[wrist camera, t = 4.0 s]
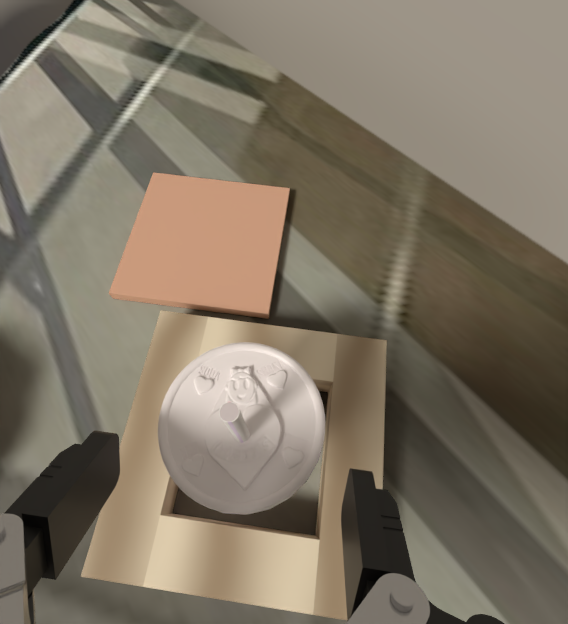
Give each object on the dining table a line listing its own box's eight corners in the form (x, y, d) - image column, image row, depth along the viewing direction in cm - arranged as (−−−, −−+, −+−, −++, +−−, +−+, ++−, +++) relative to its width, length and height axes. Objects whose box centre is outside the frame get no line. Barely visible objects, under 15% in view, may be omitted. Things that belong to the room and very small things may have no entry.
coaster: (289, 195, 32) (289, 188, 31) (268, 318, 27) (268, 313, 26) (156, 179, 32) (153, 172, 32) (113, 298, 28) (108, 293, 27)
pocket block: (377, 353, 26) (386, 340, 24) (367, 611, 20) (378, 625, 18) (170, 326, 27) (160, 310, 25) (102, 567, 21) (80, 576, 19)
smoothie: (200, 513, 22) (95, 534, 9) (201, 399, 25) (121, 295, 12) (314, 504, 22) (363, 511, 10) (303, 391, 25) (330, 282, 12)
